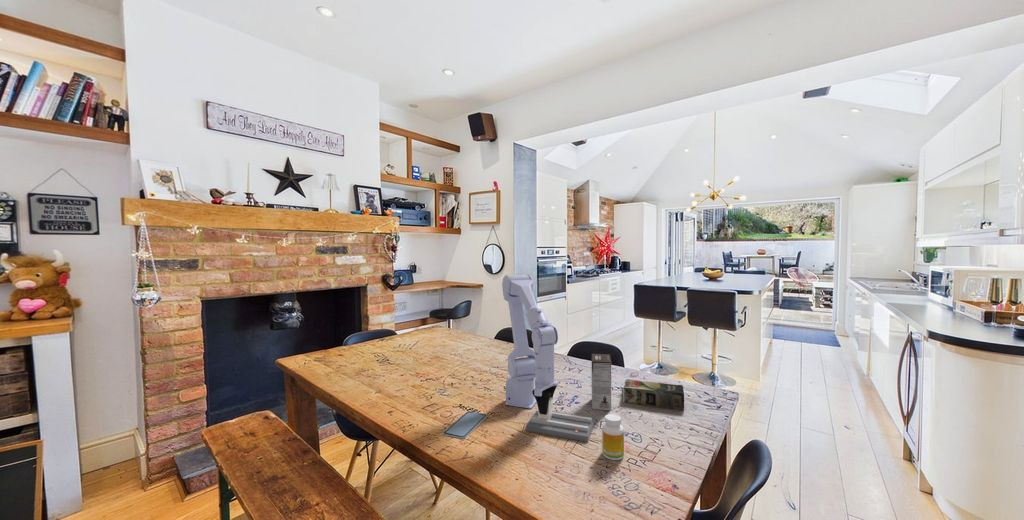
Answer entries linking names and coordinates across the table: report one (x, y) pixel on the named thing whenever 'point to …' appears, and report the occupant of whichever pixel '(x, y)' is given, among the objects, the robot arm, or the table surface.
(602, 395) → the coffee box
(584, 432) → the grey slider track
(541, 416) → the fader tab
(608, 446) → the supplement bottle
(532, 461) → the table surface
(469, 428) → the smartphone
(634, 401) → the juice carton
